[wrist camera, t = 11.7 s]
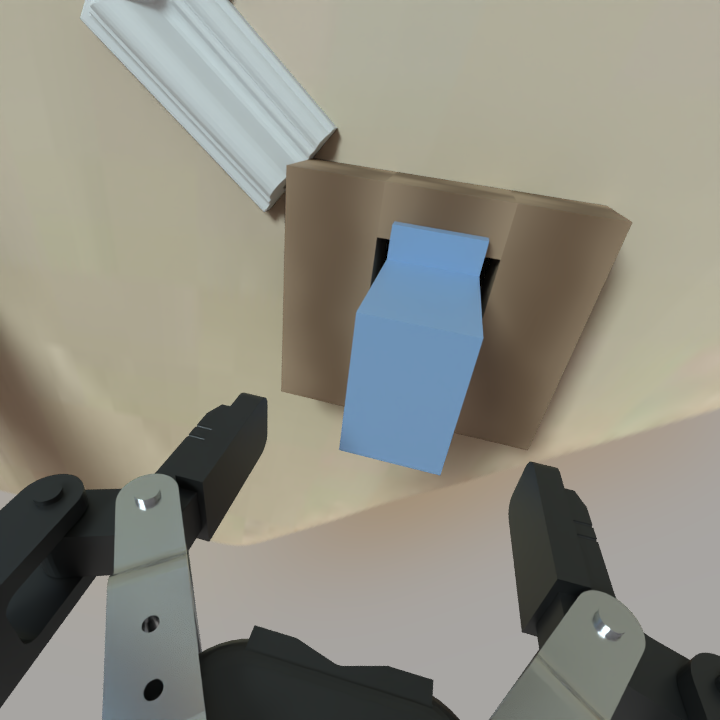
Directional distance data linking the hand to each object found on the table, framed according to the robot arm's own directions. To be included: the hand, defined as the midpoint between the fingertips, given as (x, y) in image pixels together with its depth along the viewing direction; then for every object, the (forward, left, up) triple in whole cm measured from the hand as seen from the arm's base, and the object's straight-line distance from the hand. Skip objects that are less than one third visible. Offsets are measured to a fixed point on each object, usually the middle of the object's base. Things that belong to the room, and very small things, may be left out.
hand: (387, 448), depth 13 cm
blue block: (0, 0, -12) cm, 12 cm away
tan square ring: (0, 0, -12) cm, 12 cm away
